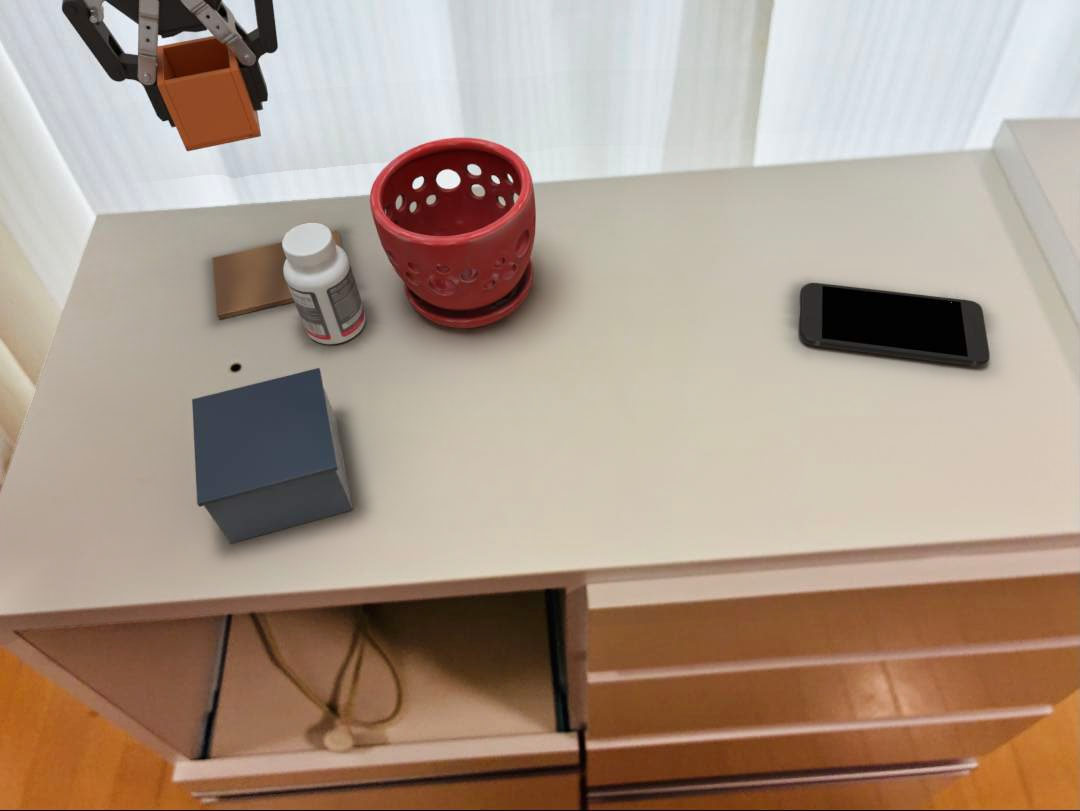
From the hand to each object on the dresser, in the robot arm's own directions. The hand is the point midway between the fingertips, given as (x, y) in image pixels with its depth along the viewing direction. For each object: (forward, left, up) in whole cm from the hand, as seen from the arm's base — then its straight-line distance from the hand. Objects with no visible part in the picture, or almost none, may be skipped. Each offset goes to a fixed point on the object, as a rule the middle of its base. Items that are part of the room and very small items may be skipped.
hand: (217, 112), depth 64 cm
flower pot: (+16, -8, -17) cm, 25 cm away
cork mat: (0, 0, -17) cm, 17 cm away
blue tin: (-2, -23, -17) cm, 29 cm away
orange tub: (0, 0, -1) cm, 1 cm away
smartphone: (+49, -24, -17) cm, 57 cm away
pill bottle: (+4, -8, -17) cm, 19 cm away
